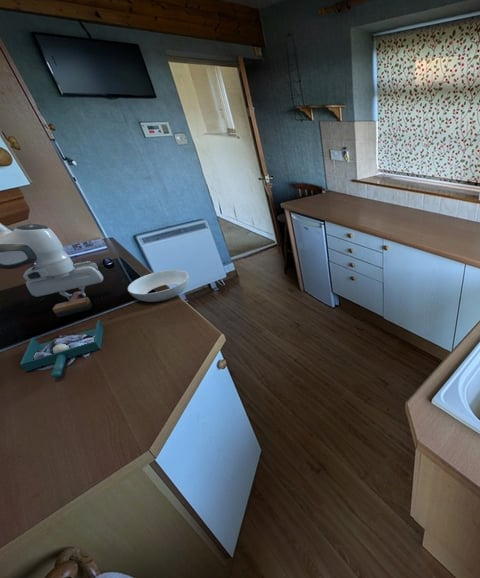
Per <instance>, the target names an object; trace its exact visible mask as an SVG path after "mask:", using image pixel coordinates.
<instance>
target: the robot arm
mask: <svg viewBox="0 0 480 578" xmlns="http://www.w3.org/2000/svg"><path fill="white" fill-rule="evenodd" d="M33 263H34V264H35V265H34V266H32V267H30V268H28V269H26V270H25V271H24V273H23V275H22V277H23V279H25V280H26V281H25V285H26V288H27V290H28V291H29V293H30V294H31V296H32V297H33V296H34V297H37V298H38V297H42V296H47V295H51V294H56V293H59V295H61V296H63V297H65V298H66V299H67V300H68V301H69V300H70V299H71V297H72V295H73V294H74V293H68V292H66V291H69V290H75V289H78V291H81V292H79V293H78V295H79V296H80V297H82V298H85V297H87V295H86V293H85V288H86V287H88V286H92V285H96V284H100V283H102V282H103V281H104V275H103V274H102V273H101V271H100V269H99V267H98V264H97V263H96V262H93V261H90V260H86V261H81V262H75V263H74V262H73V260H72V258H71V257H70V255H69V254H68V253H67V252H66V251H65V249H64V246H63V243H62V242H61V241H60V239H59V237H58V236H57V235H56V234H55V232H54V231H53V230H52V229H51V228H50V227H48V226H47V225H44V224H38V223H29V224H21V225H18V226H16V227H15V228H14V229H13V228H10V227H9V226H7V225H5V224H3V222H1V221H0V269H3V270H13V269H14V270H15V269H18V268H21V267H25V266H27V265H30V264H33Z"/></svg>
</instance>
